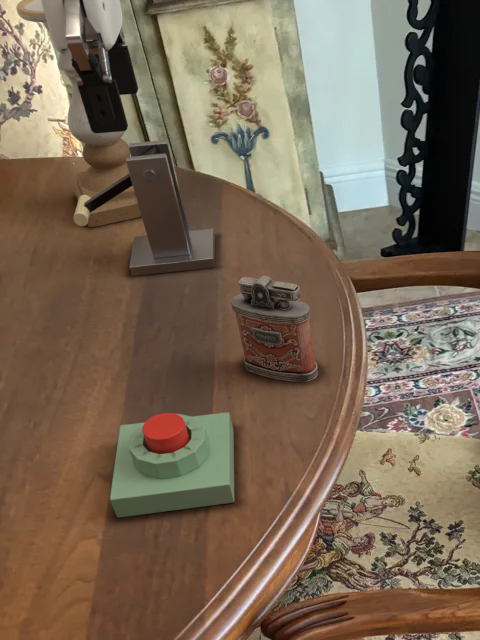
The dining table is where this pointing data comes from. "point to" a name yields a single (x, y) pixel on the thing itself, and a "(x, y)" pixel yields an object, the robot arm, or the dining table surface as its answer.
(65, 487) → the dining table surface
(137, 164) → the bracket
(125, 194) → the candle holder
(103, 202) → the lever
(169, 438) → the button
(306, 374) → the lighter
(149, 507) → the button box
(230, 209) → the dining table surface
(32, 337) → the dining table surface
